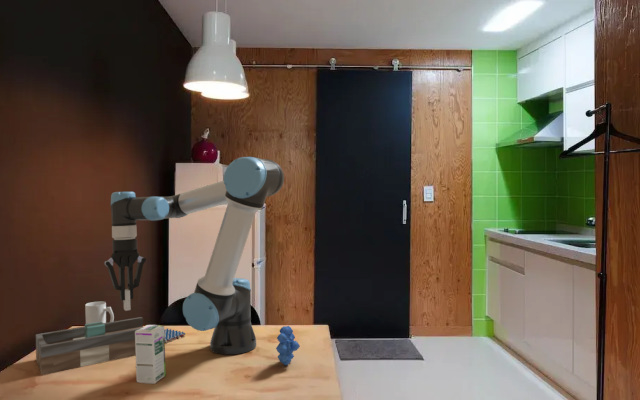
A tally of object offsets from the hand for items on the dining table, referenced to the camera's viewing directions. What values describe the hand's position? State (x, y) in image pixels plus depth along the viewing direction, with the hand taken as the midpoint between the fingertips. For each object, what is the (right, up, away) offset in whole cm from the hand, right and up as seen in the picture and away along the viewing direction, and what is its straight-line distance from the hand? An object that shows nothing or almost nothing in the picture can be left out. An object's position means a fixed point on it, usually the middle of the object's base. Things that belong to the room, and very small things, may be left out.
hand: (127, 309), depth 152 cm
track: (-8, -14, -5) cm, 16 cm away
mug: (-15, -13, +14) cm, 25 cm away
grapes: (+55, -13, -15) cm, 58 cm away
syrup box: (+17, -14, -24) cm, 33 cm away
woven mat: (+9, -14, +12) cm, 20 cm away
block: (-8, -9, -5) cm, 13 cm away
